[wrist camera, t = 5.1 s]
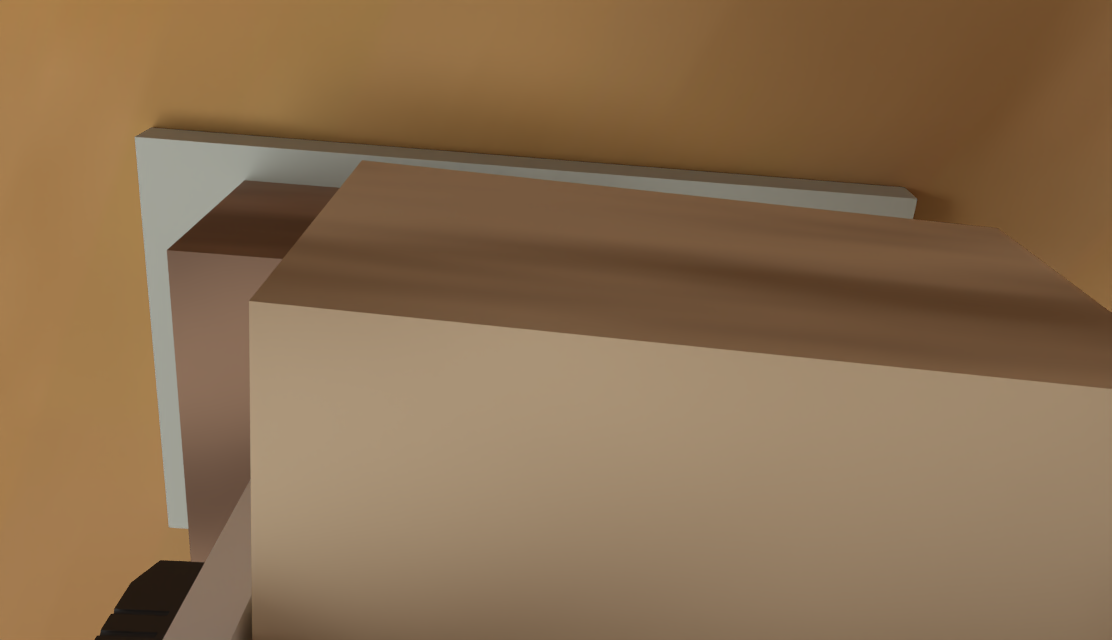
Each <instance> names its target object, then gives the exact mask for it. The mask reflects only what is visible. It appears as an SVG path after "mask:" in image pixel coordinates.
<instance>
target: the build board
mask: <svg viewBox="0 0 1112 640" xmlns="http://www.w3.org/2000/svg"><path fill="white" fill-rule="evenodd" d="M135 145H136V156H137V168H138V179H139V191H140V202H141V214H142V225H143V236H144V248H145V259H146V271H147V282H148V294H149V305H150V317H151V328H152V339H153V351H154V362H155V374H156V385H157V397H158V408H159V420H160V431H161V443H162V454H163V465H164V477H165V488H166V500H167V511H168V523H169V527H172V528H186V529H188V516H187V503H186V491H185V478H184V465H183V452H182V440H181V427H180V414H179V401H178V388H177V376H176V363H175V350H174V337H173V325H172V312H171V299H170V286H169V274H168V261H167V249H169V248H170V247H171V246H172V245H173V244H174V243H175V242H176V241H177V240H179V239H180V238H181V237H182V236H183V235H184V234H185V233H186V232H187V231H189V230H190V229H191V228H192V227H193V226H194V225H195V224H196V223H197V222H199V221H200V220H201V219H202V218H203V217H204V216H205V215H206V214H207V213H209V212H210V211H211V210H212V209H213V208H214V207H215V206H216V205H218V204H219V203H220V202H221V201H222V200H223V199H224V198H225V197H226V196H228V195H229V194H230V193H231V192H232V191H233V190H234V189H235V188H236V187H238V186H239V185H240V184H241V183H242V182H243V181H244V180H248V181H260V182H273V183H286V184H298V185H311V186H324V187H337V188H340V187H341V186H342V184H343V183H344V182H345V181H346V179H347V178H348V177H349V176H350V174H351V173H352V172H353V171H354V169H355V168H356V167H357V166H358V164H359V163H360V162H361V161H362V160H365V161H374V162H384V163H393V164H402V165H412V166H421V167H430V168H440V169H449V170H459V171H468V172H477V173H487V174H496V175H505V176H515V177H524V178H533V179H543V180H552V181H561V182H571V183H580V184H589V185H599V186H608V187H617V188H627V189H636V190H645V191H655V192H664V193H674V194H683V195H692V196H702V197H711V198H720V199H730V200H739V201H748V202H758V203H767V204H776V205H786V206H795V207H804V208H814V209H823V210H832V211H842V212H851V213H861V214H870V215H879V216H889V217H898V218H907V219H913V216H914V212H915V207H916V203H917V198H916V197H915V196H914V195H913V194H911V193H910V192H909V191H908V190H907V189H906V188H905V187H894V186H881V185H869V184H856V183H844V182H831V181H819V180H806V179H793V178H781V177H768V176H756V175H743V174H730V173H718V172H705V171H693V170H680V169H667V168H655V167H642V166H630V165H617V164H605V163H592V162H579V161H567V160H554V159H542V158H529V157H516V156H504V155H491V154H479V153H466V152H453V151H441V150H428V149H416V148H403V147H391V146H378V145H365V144H353V143H340V142H328V141H315V140H302V139H290V138H277V137H265V136H252V135H239V134H227V133H214V132H202V131H189V130H176V129H164V128H149V129H148V130H146V131H144V132H142V133H141V134H139V135H137V136H135Z"/></svg>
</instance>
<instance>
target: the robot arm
mask: <svg viewBox="0 0 1112 640" xmlns="http://www.w3.org/2000/svg"><path fill="white" fill-rule="evenodd" d="M95 640H252V579H251V479H250V481H249V483H248V485H247V486H246V488H245V490H244V492H243V494H242V496H241V497H240V499H239V501H238V503H237V505H236V507H235V508H234V510H233V512H232V514H231V516H230V517H229V519H228V521H227V523H226V525H225V527H224V528H223V530H222V532H221V534H220V536H219V538H218V539H217V541H216V543H215V545H214V547H213V549H212V550H211V552H210V554H209V556H208V558H207V559H206V561H205V562H187V561H164V560H160V561H159V562H158V563H156V564H155V565H154V566H152V567H151V568H150V569H148V570H147V571H146V572H144V573H143V574H142V575H140V576H139V577H138V578H137V579H135V580H134V581H133V582H131V584H130V585H129V587H128V588H127V590H126V591H125V593H124V594H123V596H122V598H121V599H120V601H119V602H118V604H117V605H116V607H115V609H114V614H111V615H110V616H109V618H108V619H107V621H106V623H105V624H104V626H103V627H102V629H101V633H100V636H97V637H96V638H95Z"/></svg>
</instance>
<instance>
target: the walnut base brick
mask: <svg viewBox="0 0 1112 640" xmlns="http://www.w3.org/2000/svg"><path fill="white" fill-rule="evenodd" d="M338 189H339V188H337V187H324V186H311V185H298V184H286V183H273V182H260V181H248V180H244V181H243V182H242V183H241V184H240V185H239V186H238V187H236V188H235V189H234V190H233V191H232V192H231V193H230V194H229V195H228V196H226V197H225V198H224V199H223V200H222V201H221V202H220V203H219V204H218V205H216V206H215V207H214V208H213V209H212V210H211V211H210V212H209V213H207V214H206V215H205V216H204V217H203V218H202V219H201V220H200V221H199V222H197V223H196V224H195V225H194V226H193V227H192V228H191V229H190V230H189V231H187V232H186V233H185V234H184V235H183V236H182V237H181V238H180V239H179V240H177V241H176V242H175V243H174V244H173V245H172V246H171V247H170V248H169V249H167V261H168V274H169V286H170V299H171V312H172V325H173V337H174V350H175V363H176V376H177V388H178V401H179V414H180V427H181V440H182V452H183V465H184V478H185V491H186V503H187V516H188V529H189V542H190V554H191V562H205V561H206V559H207V558H208V556H209V554H210V552H211V550H212V549H213V547H214V545H215V543H216V541H217V539H218V538H219V536H220V534H221V532H222V530H223V528H224V527H225V525H226V523H227V521H228V519H229V517H230V516H231V514H232V512H233V510H234V508H235V507H236V505H237V503H238V501H239V499H240V497H241V496H242V494H243V492H244V490H245V488H246V486H247V485H248V483H249V481H250V479H251V468H250V358H249V300H250V299H251V298H252V297H253V295H254V294H255V293H256V292H257V290H258V289H259V288H260V287H261V285H262V284H263V283H264V282H265V280H266V279H267V278H268V277H269V275H270V274H271V273H272V272H273V270H274V269H275V268H276V267H277V265H278V264H279V263H280V262H281V260H282V259H283V258H284V257H285V255H286V254H287V253H288V252H289V250H290V249H291V248H292V247H293V246H294V244H295V243H296V242H297V241H298V239H299V238H300V237H301V236H302V234H303V233H304V232H305V231H306V229H307V228H308V227H309V226H310V224H311V223H312V222H313V221H314V219H315V218H316V217H317V216H318V214H319V213H320V212H321V211H322V209H323V208H324V207H325V206H326V204H327V203H328V202H329V201H330V199H331V198H332V197H333V196H334V194H335V193H336V192H337V191H338Z"/></svg>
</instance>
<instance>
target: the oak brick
mask: <svg viewBox="0 0 1112 640" xmlns="http://www.w3.org/2000/svg"><path fill="white" fill-rule="evenodd" d="M249 358H250V468H251V579H252V640H1112V313H1111V312H1110V311H1108V310H1107V309H1106V308H1104V307H1103V306H1102V305H1100V304H1099V303H1098V302H1096V301H1095V300H1094V299H1092V298H1091V297H1090V296H1088V295H1087V294H1086V293H1084V292H1083V291H1082V290H1080V289H1079V288H1078V287H1076V286H1075V285H1074V284H1072V283H1071V282H1069V281H1068V280H1067V279H1065V278H1064V277H1063V276H1061V275H1060V274H1059V273H1057V272H1056V271H1055V270H1053V269H1052V268H1051V267H1049V266H1048V265H1047V264H1045V263H1044V262H1043V261H1041V260H1040V259H1039V258H1037V257H1036V256H1035V255H1033V254H1032V253H1031V252H1029V251H1028V250H1026V249H1025V248H1024V247H1022V246H1021V245H1020V244H1018V243H1017V242H1016V241H1014V240H1013V239H1012V238H1010V237H1009V236H1008V235H1006V234H1005V233H1004V232H1002V231H1001V230H1000V229H998V228H991V227H982V226H973V225H963V224H954V223H945V222H935V221H926V220H917V219H907V218H898V217H889V216H879V215H870V214H861V213H851V212H842V211H832V210H823V209H814V208H804V207H795V206H786V205H776V204H767V203H758V202H748V201H739V200H730V199H720V198H711V197H702V196H692V195H683V194H674V193H664V192H655V191H645V190H636V189H627V188H617V187H608V186H599V185H589V184H580V183H571V182H561V181H552V180H543V179H533V178H524V177H515V176H505V175H496V174H487V173H477V172H468V171H459V170H449V169H440V168H430V167H421V166H412V165H402V164H393V163H384V162H374V161H365V160H362V161H361V162H360V163H359V164H358V166H357V167H356V168H355V169H354V171H353V172H352V173H351V174H350V176H349V177H348V178H347V179H346V181H345V182H344V183H343V184H342V186H341V187H340V188H339V189H338V191H337V192H336V193H335V194H334V196H333V197H332V198H331V199H330V201H329V202H328V203H327V204H326V206H325V207H324V208H323V209H322V211H321V212H320V213H319V214H318V216H317V217H316V218H315V219H314V221H313V222H312V223H311V224H310V226H309V227H308V228H307V229H306V231H305V232H304V233H303V234H302V236H301V237H300V238H299V239H298V241H297V242H296V243H295V244H294V246H293V247H292V248H291V249H290V250H289V252H288V253H287V254H286V255H285V257H284V258H283V259H282V260H281V262H280V263H279V264H278V265H277V267H276V268H275V269H274V270H273V272H272V273H271V274H270V275H269V277H268V278H267V279H266V280H265V282H264V283H263V284H262V285H261V287H260V288H259V289H258V290H257V292H256V293H255V294H254V295H253V297H252V298H251V299H250V300H249Z"/></svg>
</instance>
